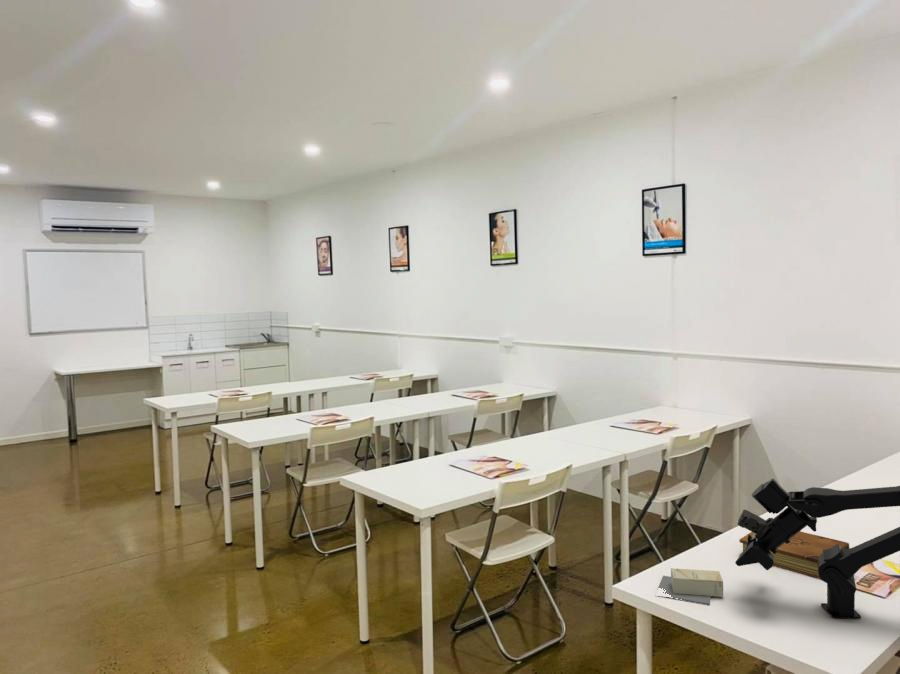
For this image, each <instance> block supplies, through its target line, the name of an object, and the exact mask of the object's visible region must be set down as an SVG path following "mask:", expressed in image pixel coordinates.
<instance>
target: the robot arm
mask: <svg viewBox="0 0 900 674" xmlns="http://www.w3.org/2000/svg"><path fill="white" fill-rule="evenodd" d="M750 496H751V497H752V499H754V500H755V501H756V502H757V503H758V504H759V505H761V507H763V508H764V510H765V511H767V512H768V513H769V514H772V515H775V514H776V516H775V517H774V518H773V517H768V518H767V519H764V518H762V517H761V516H759V515H757V514H755V513H753V512H751V511H749V510H747V509H743V510H742V512H741V514H740V515H739V518H738V521H737V525H738V526H739V527H740V528H743V529H746V530H748V531H750V532H754V533H755V534H754V535H753V536H752V537H751V536H750V535H748V540H747V546H746V548H745V549H744V551H743V550H742V552H741V553H740V554H741V555H740V554H739V556H738V558H737V559H736V561H735V565H736V566H738V567H742V566H747V565H753V564H759V565H760V566H762V568H764V569H765V570H766V571H769V570H770V569H771V568H773V567H775V566H774V555H773V554H775V553H776V552H777V549H778V548H779V547H780V546H782V545H783V544H784V543H786V544H788V543H789V542H790V539H791V538H792V537H793V536H794V535H796V534H797V533H798V532H800V531H801V532H802V530H803V529H805V528H806V527H808V528H809V529H810V530H811V531H813V532H817V524H818V523H817V522H818V519H819V518H825V517H829V516H832V515H836V514H838V513H840V512H844V511H848V510H859V509H860V510H861V509H876V508H891V507H892V508H893V507H900V485H896V486H883V487H875V488H874V487H873V488H860V489H849V490H847V489H846V490H838V489H833V488H827V487H814V486H812V487H809V488H808V487H807V489H806V488H805V490H798V491H786V490H785V489H784V488H783V487H782V486H781V485H780V484H779V482H777V480H776V479H774V478H771V479H769V480H768V481H766V482H764V483H761V484H760V485H759V486H758V487H757V488H756V489H754V491H753V492H752V493H751V495H750ZM777 514H778V515H777ZM769 550H770V551H771V552H772V553H773V554H772V553H771V552H770V551H769ZM898 552H900V526H898V527H895V528H894V529H891V530H889V531H887V532H885V533H882V534H880V535H878V536H875V537H873V538H871V539H869V540H866V541H865V542H862V543H859V544H858V545H855V546H852V547H849V549H841V547H840V545H839V544H836V545H835V546H833V547H832V548H830V549H826V550H823V553H822V554H821V555H820V556H819V558H818V561H817V562H818V573H819V576H820V578H821V579H820V580H822V581H823V582H824V583H826V585H827V586H826V603H825V602H822V603H820V607H822V609H824V610H825V611H826V612H827V614H828V615H829V616H830V617H831V618H833V619H862V615H861V614H860V613H858V612H857V611H856V609H855V606H856V605H855V604H856V603H855V601H856V600H855V599H856V596H855V595H856V592H857V585H856V579H855V575H856V574H857V572H858V571H860V569H861V568H863V567H865V566H867V565H870V564H873V563H874V562H877V561H880V560H882V559H884V558H886V557H888V556H890V555H893V554H895V553H896V554H897V553H898Z"/></svg>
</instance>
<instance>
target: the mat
mask: <svg viewBox="0 0 900 674" xmlns="http://www.w3.org/2000/svg"><path fill="white" fill-rule="evenodd" d="M658 588H661V589H662V588H663V590H664V589H665V590H666V592H665V594H666V593H667V594H669V595H671V597H673V598H678V599H682V600H686V601H685V602H688V601H690V602H689V603H694V602H696V604H699V603H702V604H701V605H705V604H707V605H706V606H710V605H711V601H710V600H711V599H712V596H703V595H689V594H674V593H673V589H672V585H671V576H667V575H662V577H661V580H660V582H659V585H658ZM658 588H657V589H658ZM665 590H664V591H665ZM663 593H664V592H663ZM682 600H681V601H682Z"/></svg>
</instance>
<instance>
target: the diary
mask: <svg viewBox="0 0 900 674" xmlns="http://www.w3.org/2000/svg"><path fill="white" fill-rule="evenodd" d="M754 534H755V533H754V532H752V531H750V532H749V533H747V534H746V535H744V536H742V537H741V538H739V539H738V540H739V543H741V544H742V552H743V551H744V549H745V548H746V546H747V540H748V535H750V536H751V537H752V536H753V535H754ZM836 544H839V545H840V547H841V549H849V548H850V543H849V542H847V541H843V540H838V539H834V538H830V537H825V536H821V535H816V534H813V533H808V532H804V531H802V530H801V531H800V532H798V533H797V534H796V535H794V536H793V537H792V538H791V539H790V542H789V543H788V544H786V543H784V544H783V545H782V546H780V547H779V548H778V549H777V552H776V553H775V554H773V553H772V552H771V551H770V550H769V551H770V552H771V553H772V554H773V555H774V566H773V567H775V566H776V568H779V567H780V569H783V570H787V571H791V572H793V573H798V574H800V573H801V574H800V575H805V576H808V577H812V578H815V579H818V578H820V576H819V573H818V562H817V561H818V558H819V556H820V555H821V554H822V553H823V550H826V549H830V548H832V547H833V546H835V545H836ZM740 555H741V553H740V554H739V556H740ZM819 580H822V579H821V578H820V579H819Z"/></svg>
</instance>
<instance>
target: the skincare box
mask: <svg viewBox="0 0 900 674" xmlns="http://www.w3.org/2000/svg"><path fill="white" fill-rule="evenodd" d="M670 577H671V585H672V589H673V593H674V594H689V595H703V596H711V597H719V598H722V597H724V580H723V578H722V574H721V572H720V571H719V570H705V569H691V568H690V569H688V568H670Z"/></svg>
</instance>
